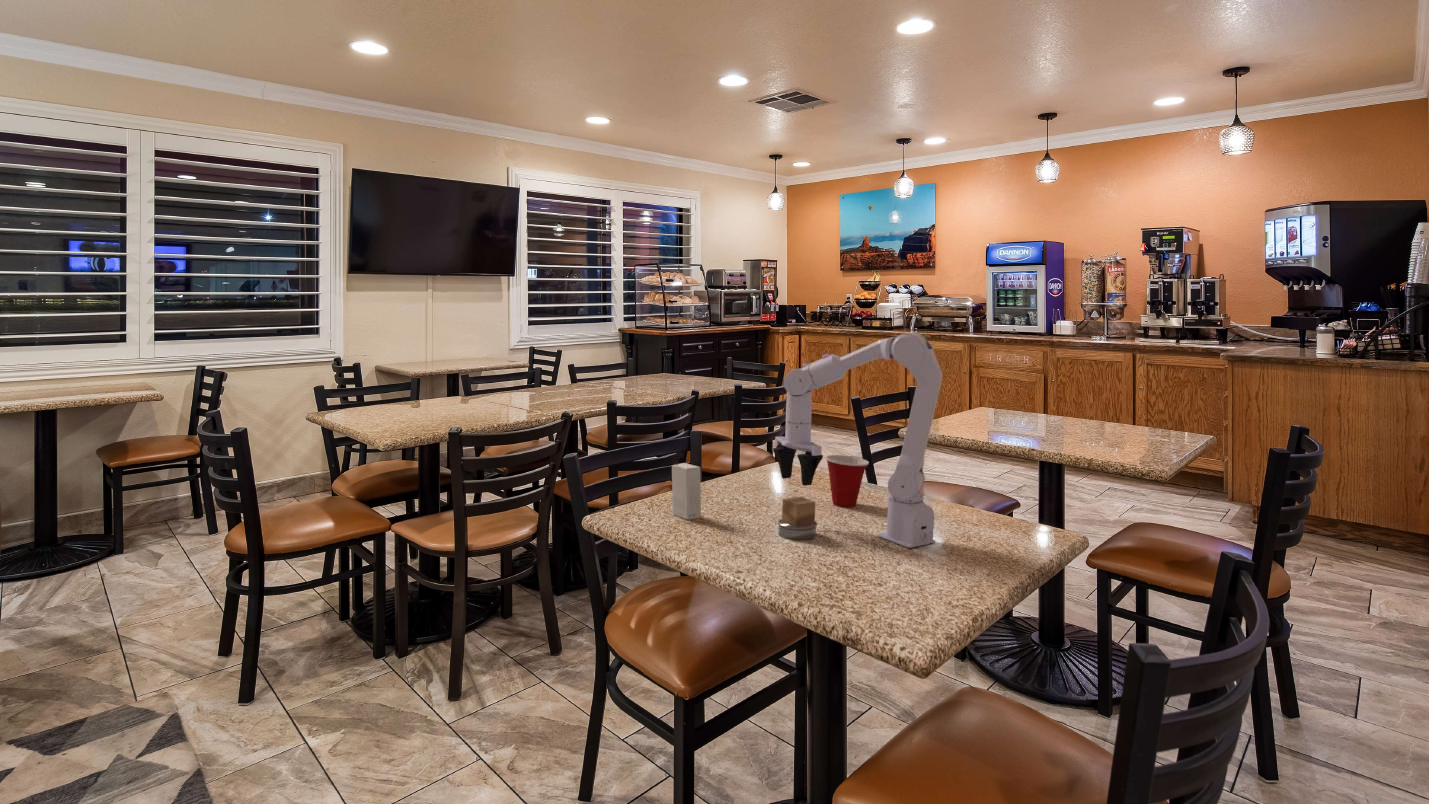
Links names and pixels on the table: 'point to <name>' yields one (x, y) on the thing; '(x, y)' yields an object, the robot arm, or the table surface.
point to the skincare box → (686, 491)
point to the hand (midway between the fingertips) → (796, 481)
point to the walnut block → (798, 511)
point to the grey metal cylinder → (797, 531)
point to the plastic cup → (845, 478)
